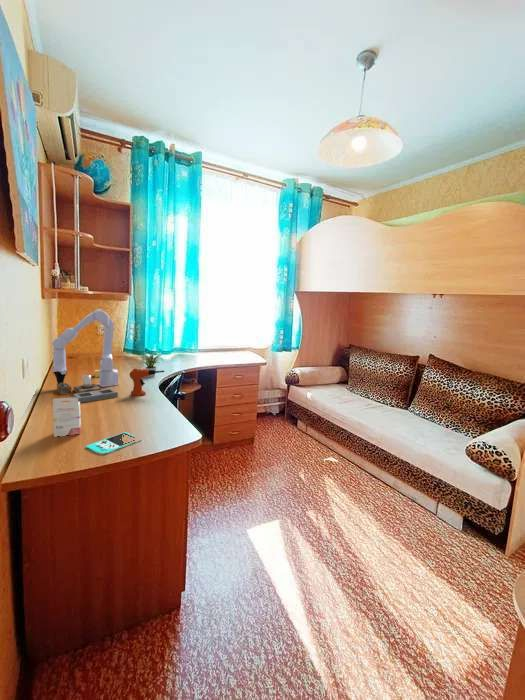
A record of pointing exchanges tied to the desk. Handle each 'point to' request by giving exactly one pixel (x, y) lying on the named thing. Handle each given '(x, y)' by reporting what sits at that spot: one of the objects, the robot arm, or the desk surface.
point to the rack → (96, 395)
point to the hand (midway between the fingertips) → (60, 384)
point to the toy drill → (140, 380)
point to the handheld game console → (109, 444)
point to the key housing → (64, 389)
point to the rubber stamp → (97, 373)
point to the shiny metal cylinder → (87, 381)
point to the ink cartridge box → (66, 417)
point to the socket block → (80, 389)
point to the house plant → (150, 363)
